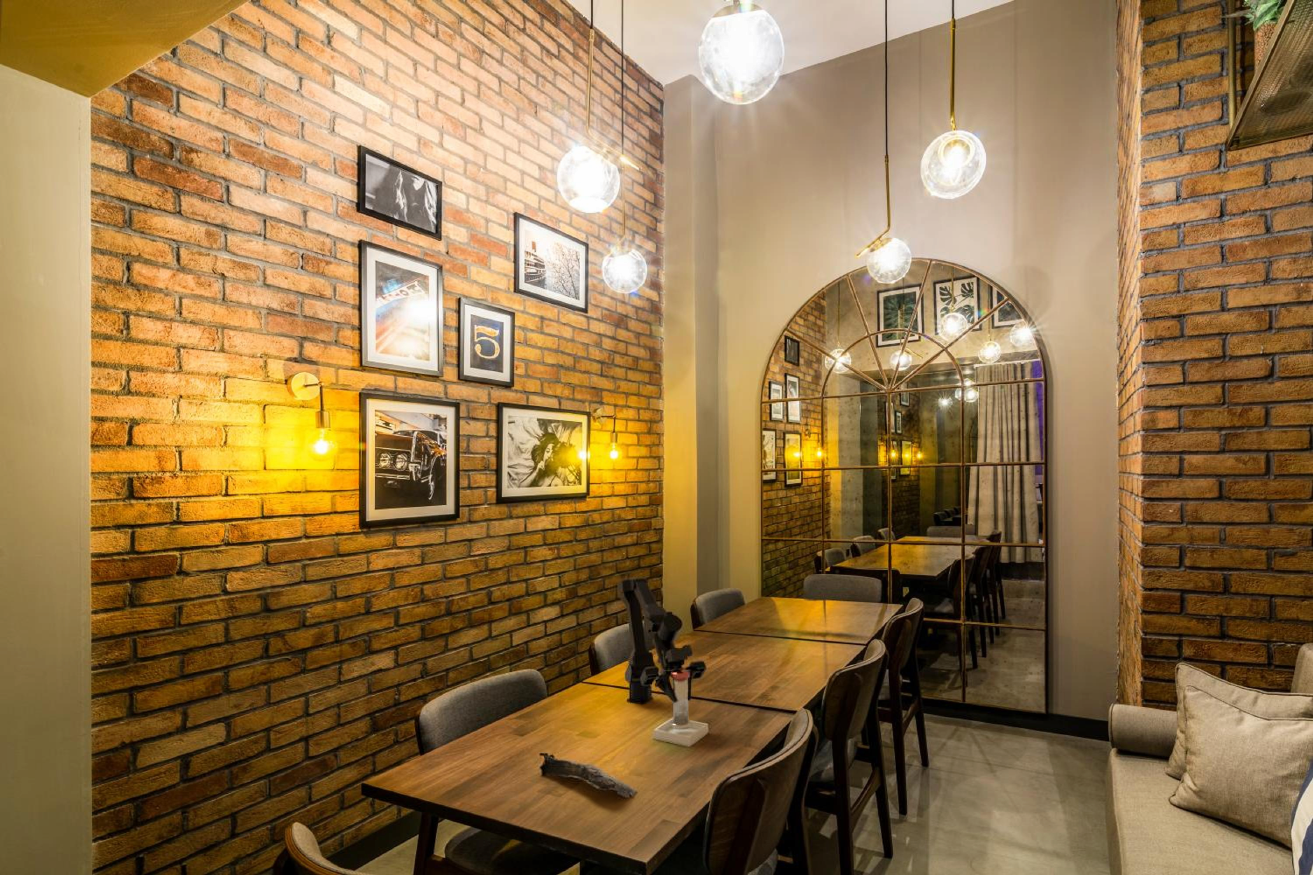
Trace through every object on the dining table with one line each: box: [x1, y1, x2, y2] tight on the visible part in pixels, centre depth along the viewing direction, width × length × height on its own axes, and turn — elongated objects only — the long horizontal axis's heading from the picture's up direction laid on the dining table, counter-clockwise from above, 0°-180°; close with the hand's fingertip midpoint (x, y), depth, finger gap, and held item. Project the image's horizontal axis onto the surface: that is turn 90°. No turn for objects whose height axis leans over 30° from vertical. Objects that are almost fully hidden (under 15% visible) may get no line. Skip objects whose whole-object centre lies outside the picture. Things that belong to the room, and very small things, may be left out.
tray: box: [652, 717, 709, 748], centre depth 185 cm, size 11×11×2 cm
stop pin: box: [670, 669, 692, 730], centre depth 185 cm, size 6×6×15 cm
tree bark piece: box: [538, 752, 639, 799], centre depth 157 cm, size 27×9×10 cm
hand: (682, 700), depth 184 cm, fingers closed on stop pin, 4 cm apart
